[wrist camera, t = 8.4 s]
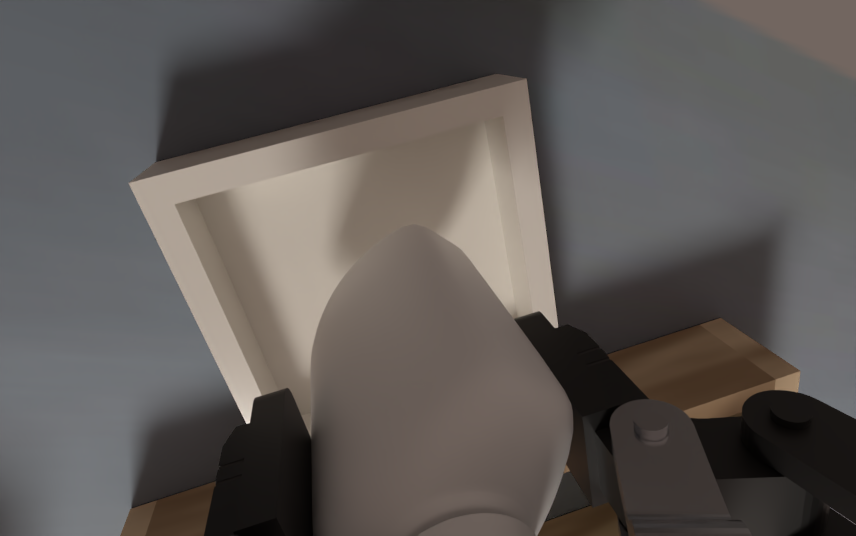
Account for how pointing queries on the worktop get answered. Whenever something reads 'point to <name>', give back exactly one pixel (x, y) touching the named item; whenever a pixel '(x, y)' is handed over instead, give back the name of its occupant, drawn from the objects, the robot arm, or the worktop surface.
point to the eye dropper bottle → (430, 402)
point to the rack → (586, 528)
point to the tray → (346, 219)
